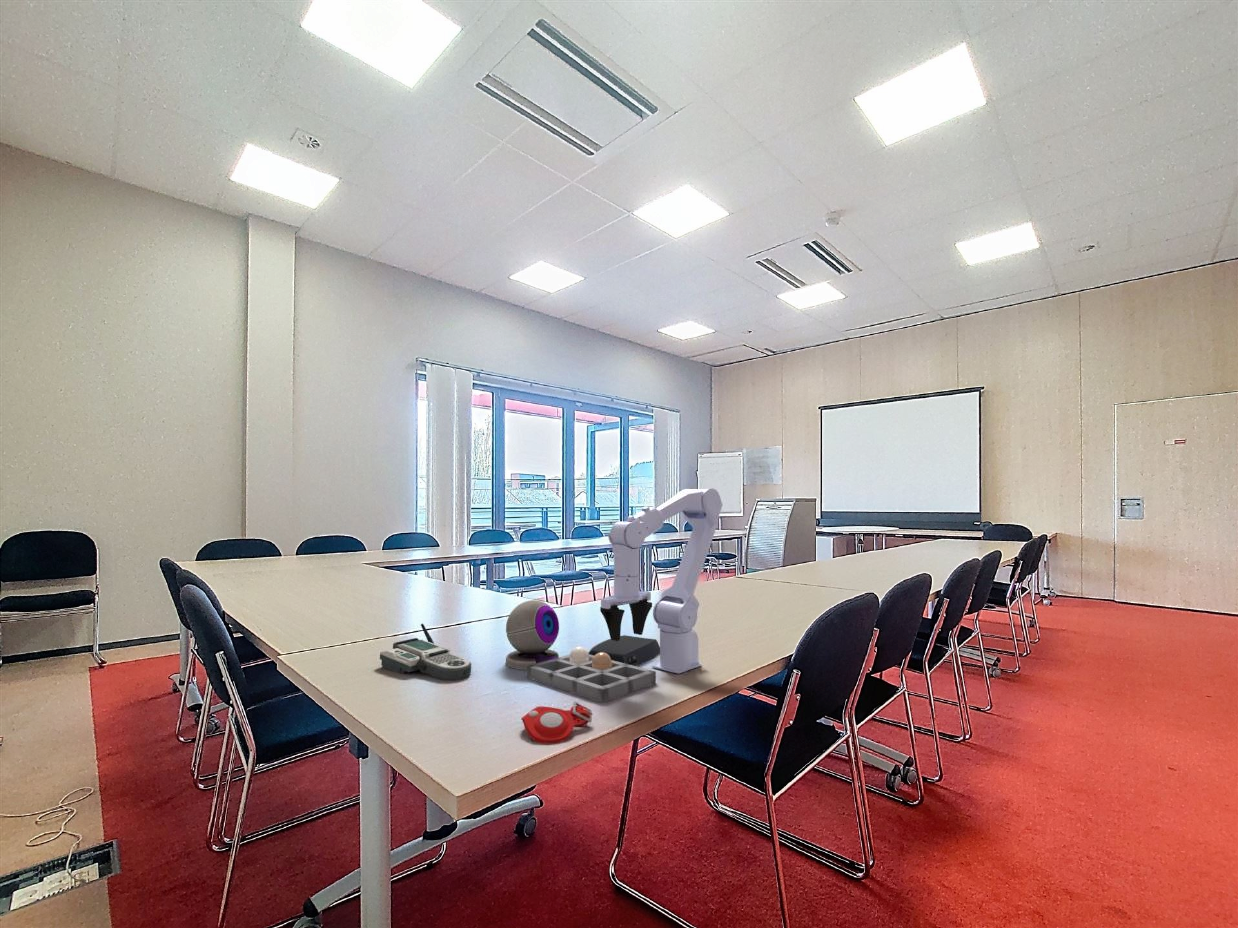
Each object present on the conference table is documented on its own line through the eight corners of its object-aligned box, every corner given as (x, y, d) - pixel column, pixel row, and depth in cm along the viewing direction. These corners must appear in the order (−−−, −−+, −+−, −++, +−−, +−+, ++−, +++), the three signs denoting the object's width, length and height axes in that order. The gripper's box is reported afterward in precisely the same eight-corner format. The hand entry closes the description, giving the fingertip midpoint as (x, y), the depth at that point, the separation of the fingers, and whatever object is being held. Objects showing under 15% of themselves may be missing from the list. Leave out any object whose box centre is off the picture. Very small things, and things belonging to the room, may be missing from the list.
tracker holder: (555, 743, 93) (509, 716, 98) (554, 766, 94) (509, 738, 99) (599, 704, 103) (555, 681, 108) (597, 725, 104) (554, 701, 109)
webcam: (536, 672, 134) (536, 607, 135) (494, 664, 140) (495, 602, 141) (568, 659, 145) (568, 598, 146) (528, 652, 151) (528, 594, 152)
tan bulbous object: (601, 672, 134) (601, 648, 134) (615, 676, 131) (615, 652, 131) (588, 676, 131) (588, 652, 131) (601, 681, 128) (601, 656, 128)
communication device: (439, 689, 124) (440, 647, 124) (376, 668, 138) (377, 631, 138) (483, 675, 134) (483, 636, 134) (420, 657, 147) (421, 622, 148)
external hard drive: (581, 665, 141) (581, 647, 142) (621, 647, 158) (621, 632, 158) (628, 672, 135) (627, 655, 135) (664, 653, 152) (664, 637, 152)
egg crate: (526, 677, 130) (526, 665, 130) (579, 662, 142) (580, 651, 142) (602, 702, 114) (602, 689, 114) (655, 683, 126) (655, 671, 126)
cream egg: (579, 666, 139) (579, 643, 139) (592, 669, 136) (592, 646, 136) (565, 670, 136) (566, 646, 136) (578, 674, 133) (578, 650, 133)
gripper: (617, 580, 121) (617, 646, 120) (660, 573, 132) (661, 634, 131) (594, 577, 126) (593, 640, 125) (637, 571, 137) (637, 629, 136)
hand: (626, 637), depth 129 cm, fingers open, 7 cm apart
